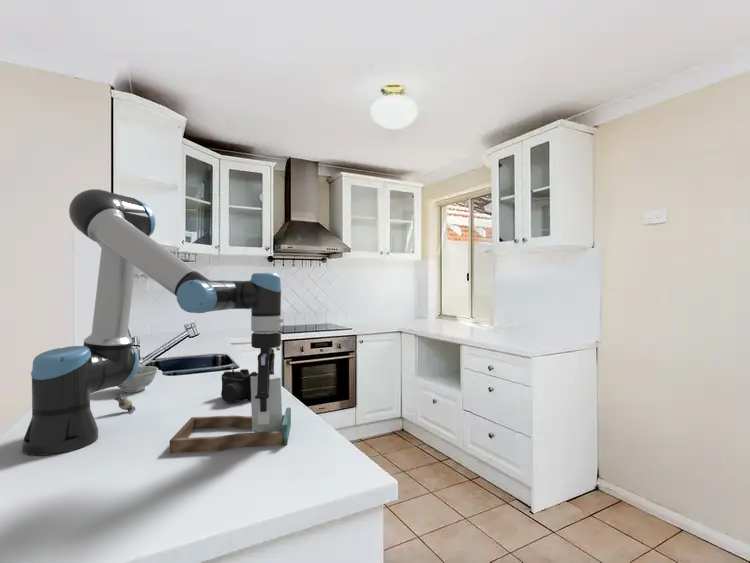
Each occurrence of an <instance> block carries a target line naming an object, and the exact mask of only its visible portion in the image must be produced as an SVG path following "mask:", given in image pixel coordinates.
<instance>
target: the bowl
mask: <svg viewBox="0 0 750 563" xmlns="http://www.w3.org/2000/svg"><path fill="white" fill-rule="evenodd" d="M158 370H159V368H158V367H157V366H151V365H150V366H148V365H147V366H146V365H143V366H142V365H141V366H138V369H137V371H136V373H135V374H134V376H133V377H132V378H131V379H129V380H128V381H126V382H124V383H122V384H120V385H118V386H116V387H117V388H119V389H121V390H122V392H124V393H137V392H142V391H144V390H145V389H146V387H148V386H150V384H152V382H153V381H154V379H155V377H156V374H157V372H158Z"/></svg>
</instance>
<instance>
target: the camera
mask: <svg viewBox="0 0 750 563" xmlns="http://www.w3.org/2000/svg"><path fill="white" fill-rule="evenodd" d="M256 375H258V372H257V371H252V372H251V373H250V371H249V369H248V368H246V369H245V368H242V369H240V370H237V371H235V370H234V369H231V371H229V370H228V371H227V370H226V371H223V374H221V393H220V395H221V398H222V400H223V401H224V402H225V403H226V404H233V403H237V402H240V401H247V400H248V401H251V376H256Z"/></svg>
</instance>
